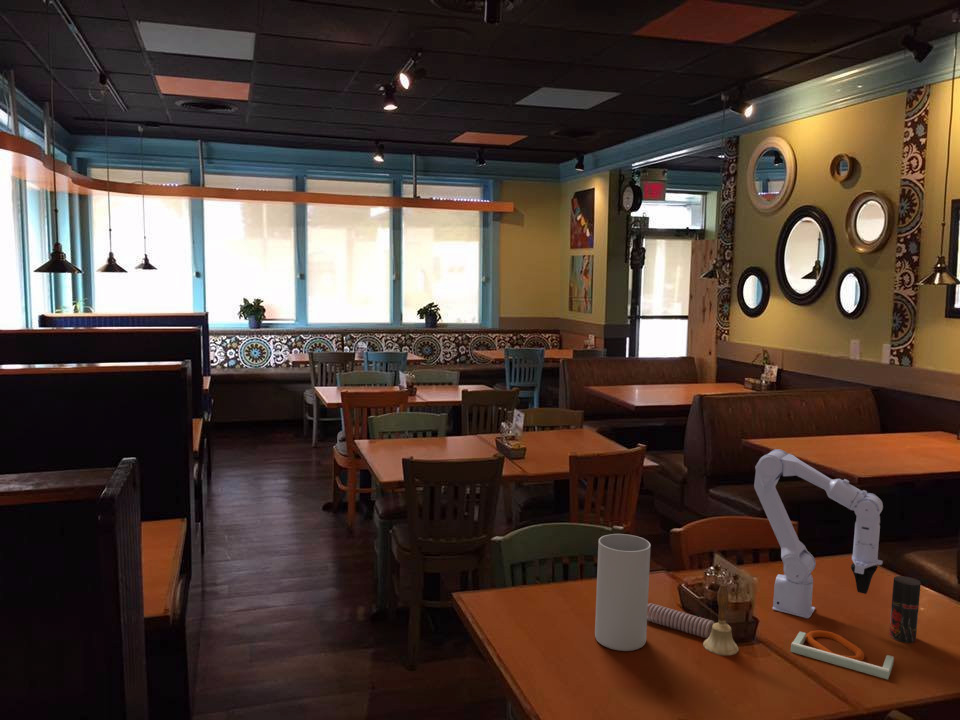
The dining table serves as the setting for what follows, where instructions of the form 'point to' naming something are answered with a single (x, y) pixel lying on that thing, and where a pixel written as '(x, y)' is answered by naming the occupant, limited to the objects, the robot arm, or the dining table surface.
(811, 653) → the bar pull handle
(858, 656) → the orange oval ring
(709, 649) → the hand bell
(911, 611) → the deodorant
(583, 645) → the dining table surface
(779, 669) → the dining table surface
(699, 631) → the coil
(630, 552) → the cylinder vase
